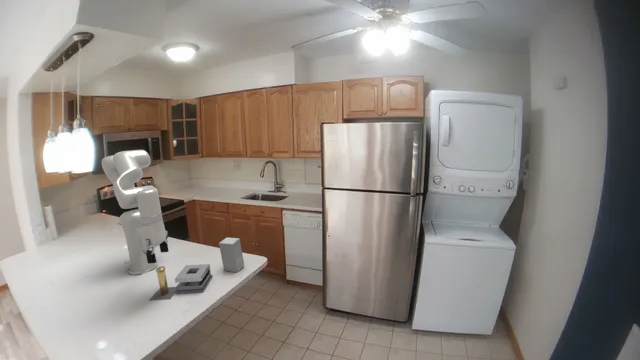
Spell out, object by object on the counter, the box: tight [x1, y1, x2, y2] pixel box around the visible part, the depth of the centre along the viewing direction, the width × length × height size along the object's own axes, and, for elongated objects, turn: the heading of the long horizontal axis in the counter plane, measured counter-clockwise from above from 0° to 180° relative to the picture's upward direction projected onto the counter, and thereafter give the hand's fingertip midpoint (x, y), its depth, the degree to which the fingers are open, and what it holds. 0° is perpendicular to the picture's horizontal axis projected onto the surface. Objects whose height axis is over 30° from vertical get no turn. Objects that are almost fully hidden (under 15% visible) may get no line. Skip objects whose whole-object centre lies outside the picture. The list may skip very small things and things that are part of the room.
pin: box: [155, 265, 169, 295], centre depth 116 cm, size 3×3×12 cm
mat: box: [148, 286, 177, 302], centre depth 118 cm, size 9×9×1 cm
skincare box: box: [218, 236, 245, 273], centre depth 135 cm, size 8×7×16 cm
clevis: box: [174, 263, 214, 295], centre depth 122 cm, size 12×12×8 cm
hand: (158, 257), depth 114 cm, fingers open, 9 cm apart
